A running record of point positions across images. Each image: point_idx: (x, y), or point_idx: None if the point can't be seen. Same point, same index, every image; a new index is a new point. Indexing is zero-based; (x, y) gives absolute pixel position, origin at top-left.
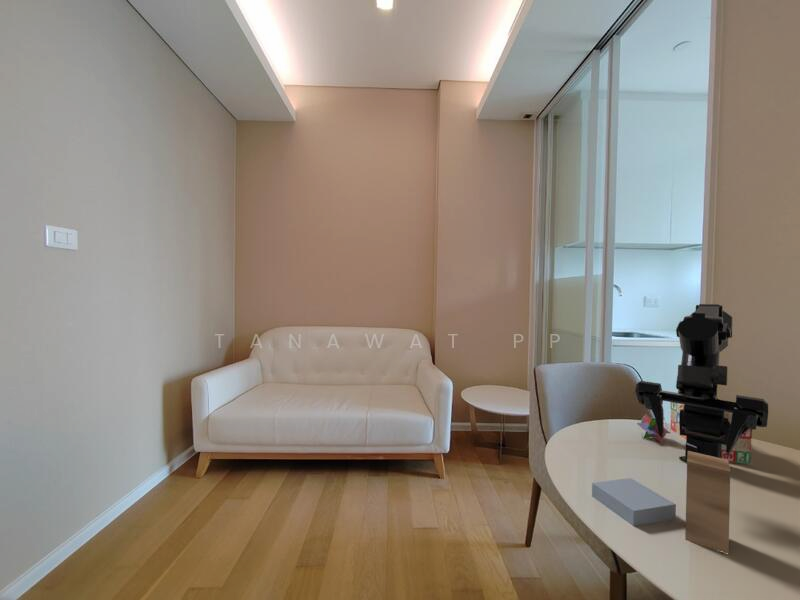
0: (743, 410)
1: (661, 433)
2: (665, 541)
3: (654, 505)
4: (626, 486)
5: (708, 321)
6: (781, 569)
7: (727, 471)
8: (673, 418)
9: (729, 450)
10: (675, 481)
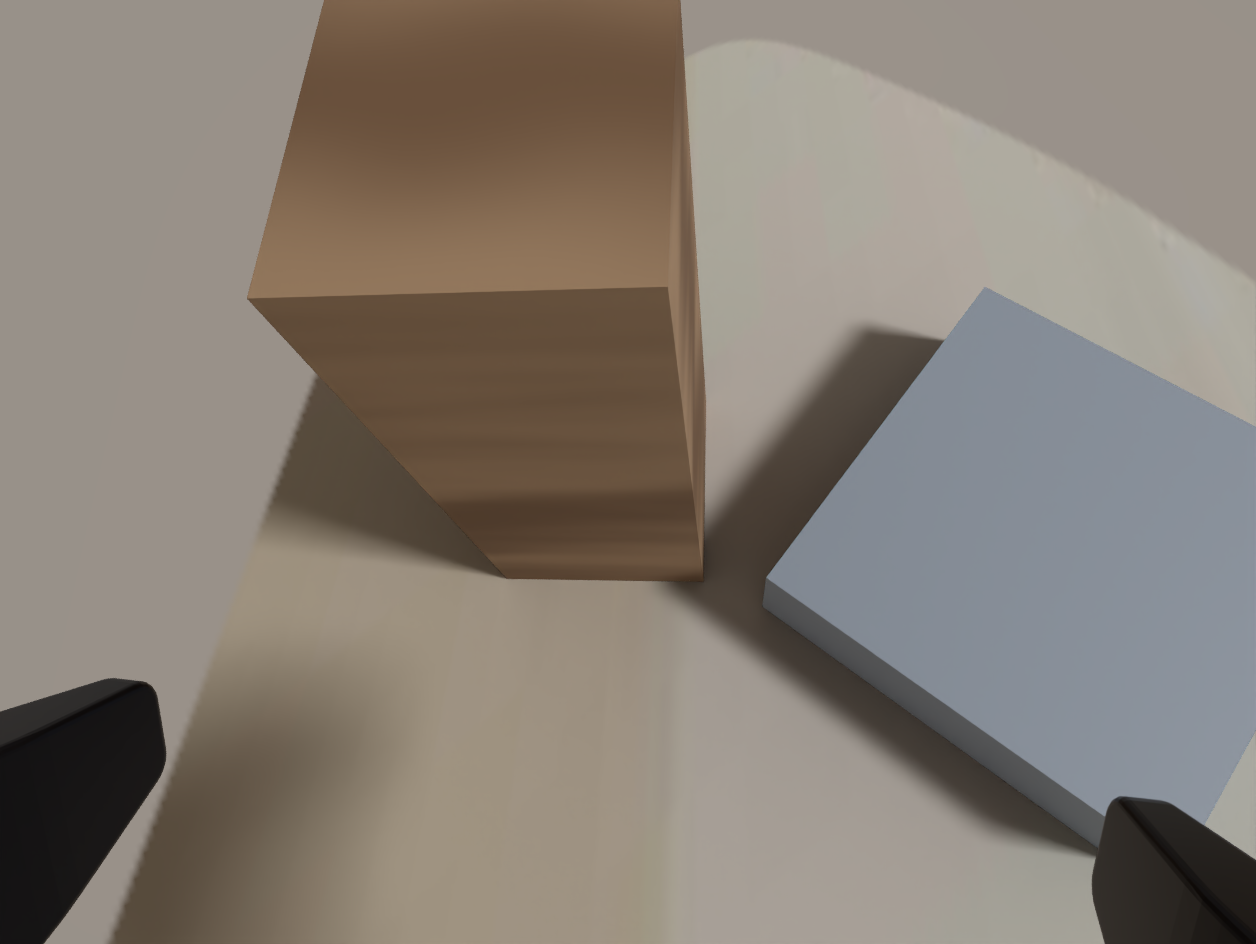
0: None
1: (1146, 816)
2: (791, 314)
3: (889, 449)
4: (1141, 630)
5: None
6: (328, 443)
7: (349, 2)
8: None
9: (98, 682)
10: None
